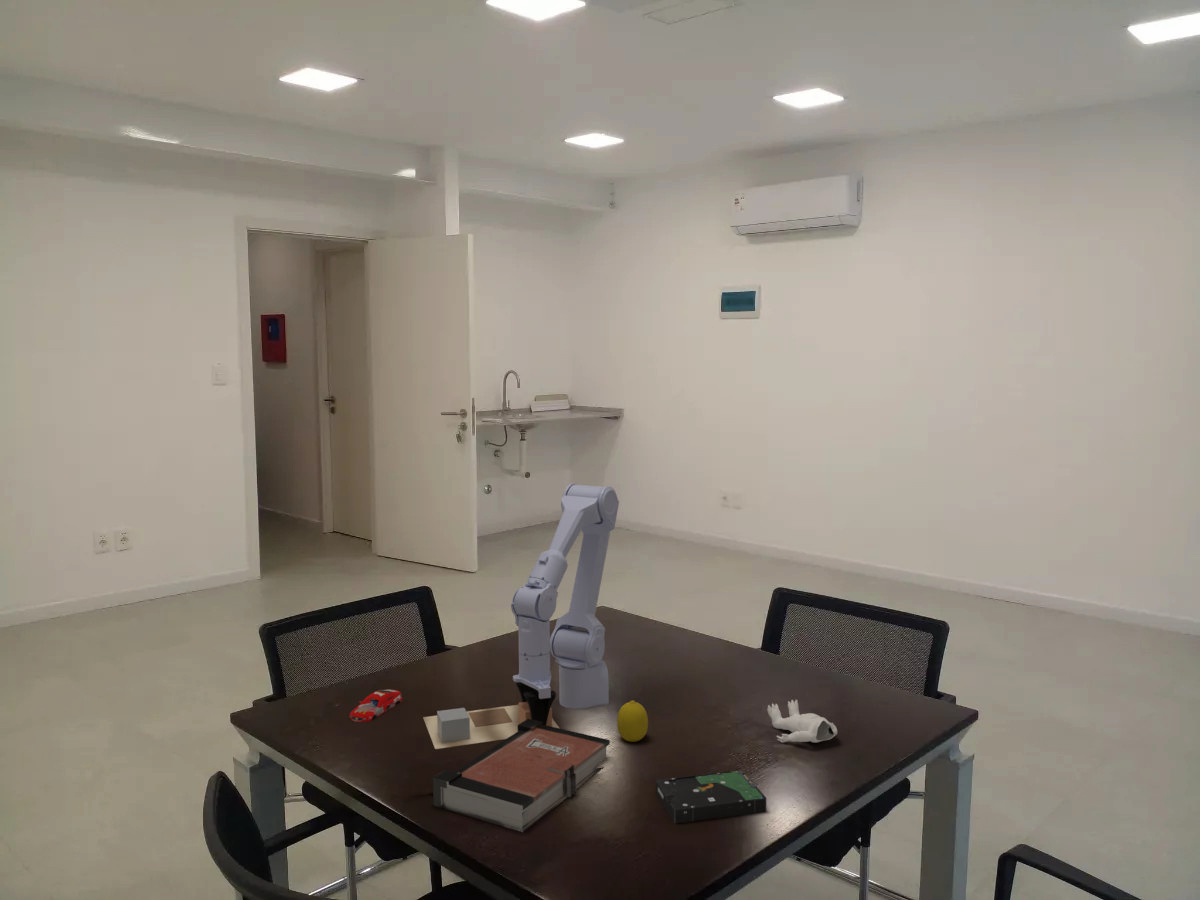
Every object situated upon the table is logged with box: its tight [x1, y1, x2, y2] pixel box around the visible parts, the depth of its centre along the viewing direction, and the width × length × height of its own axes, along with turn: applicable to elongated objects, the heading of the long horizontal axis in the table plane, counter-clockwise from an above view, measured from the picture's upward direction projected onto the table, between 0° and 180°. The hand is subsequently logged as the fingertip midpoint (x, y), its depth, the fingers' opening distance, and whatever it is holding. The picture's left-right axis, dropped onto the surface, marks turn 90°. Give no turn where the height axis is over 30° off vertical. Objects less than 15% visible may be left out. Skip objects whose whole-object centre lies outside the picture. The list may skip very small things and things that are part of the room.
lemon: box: [616, 699, 649, 743], centre depth 164 cm, size 6×6×8 cm
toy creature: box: [766, 699, 838, 744], centre depth 167 cm, size 12×6×12 cm
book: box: [432, 719, 611, 833], centre depth 149 cm, size 26×18×5 cm
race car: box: [349, 689, 403, 723], centre depth 178 cm, size 13×5×4 cm, turn 158°
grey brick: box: [436, 707, 470, 743], centre depth 165 cm, size 5×5×4 cm
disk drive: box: [655, 770, 767, 824], centre depth 142 cm, size 10×3×15 cm
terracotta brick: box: [518, 701, 553, 727], centre depth 169 cm, size 5×5×4 cm
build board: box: [422, 704, 561, 750], centre depth 171 cm, size 23×15×1 cm, turn 109°
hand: (535, 722), depth 169 cm, fingers closed on terracotta brick, 5 cm apart
